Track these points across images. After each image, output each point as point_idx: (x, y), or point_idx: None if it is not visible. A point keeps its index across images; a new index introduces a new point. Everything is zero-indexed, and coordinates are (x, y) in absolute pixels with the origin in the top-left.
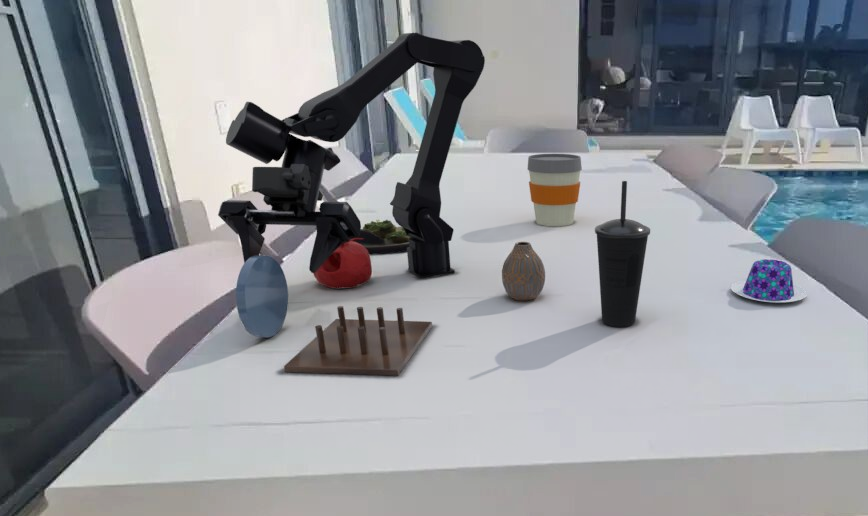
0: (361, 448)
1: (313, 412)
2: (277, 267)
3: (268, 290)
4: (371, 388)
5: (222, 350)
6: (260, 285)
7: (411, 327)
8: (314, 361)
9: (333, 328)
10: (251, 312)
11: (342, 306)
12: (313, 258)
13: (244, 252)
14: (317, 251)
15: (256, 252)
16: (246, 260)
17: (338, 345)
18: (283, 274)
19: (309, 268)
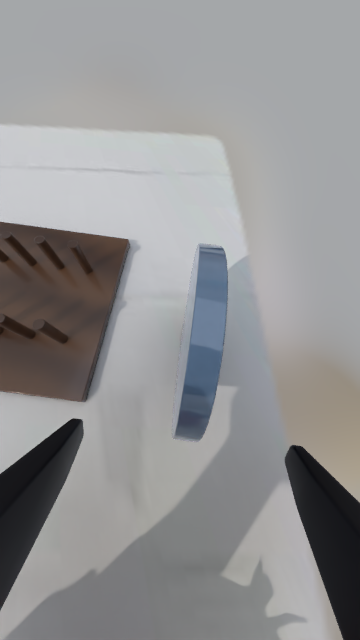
0: (45, 142)
1: (86, 180)
2: (179, 401)
3: (184, 338)
4: (33, 208)
5: (229, 305)
6: (189, 303)
7: None
8: (94, 246)
9: (81, 351)
10: (190, 280)
11: (34, 326)
12: (44, 448)
13: (356, 507)
14: (3, 478)
15: (339, 592)
16: (316, 468)
17: (68, 286)
18: (174, 431)
19: (79, 420)
